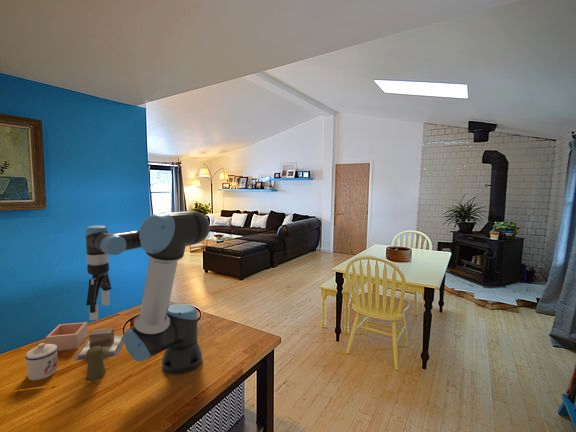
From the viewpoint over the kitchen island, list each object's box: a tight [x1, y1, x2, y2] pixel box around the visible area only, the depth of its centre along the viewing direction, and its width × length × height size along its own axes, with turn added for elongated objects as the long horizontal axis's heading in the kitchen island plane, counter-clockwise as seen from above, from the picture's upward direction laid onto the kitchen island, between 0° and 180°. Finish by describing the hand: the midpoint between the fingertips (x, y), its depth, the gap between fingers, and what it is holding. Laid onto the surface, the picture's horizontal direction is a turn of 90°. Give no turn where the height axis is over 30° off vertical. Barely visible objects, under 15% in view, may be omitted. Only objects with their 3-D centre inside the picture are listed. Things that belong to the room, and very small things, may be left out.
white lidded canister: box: [24, 342, 59, 381], centre depth 108 cm, size 12×9×12 cm
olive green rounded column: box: [86, 346, 107, 382], centre depth 107 cm, size 6×6×11 cm
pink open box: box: [45, 321, 89, 352], centre depth 126 cm, size 11×11×7 cm
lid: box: [78, 327, 124, 358], centre depth 124 cm, size 13×13×7 cm
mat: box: [72, 338, 125, 362], centre depth 124 cm, size 16×16×1 cm
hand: (100, 311), depth 123 cm, fingers open, 13 cm apart
